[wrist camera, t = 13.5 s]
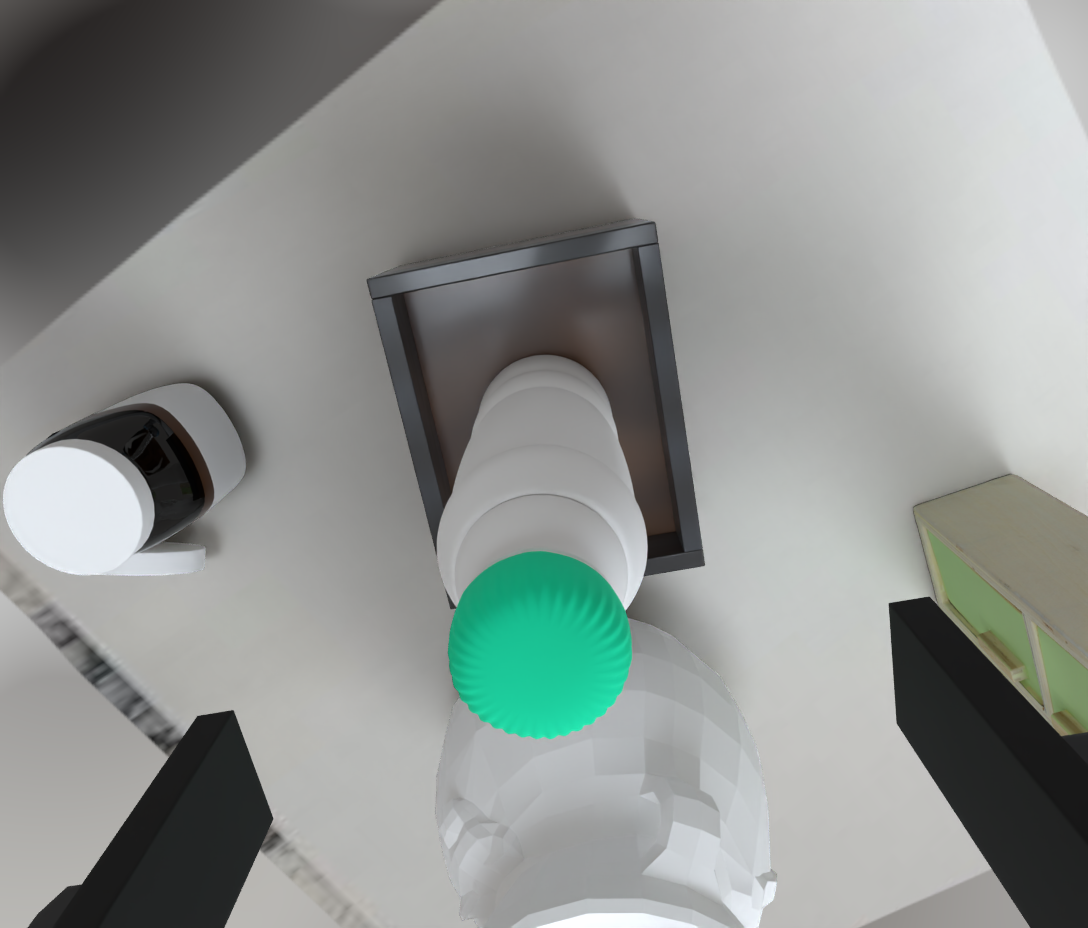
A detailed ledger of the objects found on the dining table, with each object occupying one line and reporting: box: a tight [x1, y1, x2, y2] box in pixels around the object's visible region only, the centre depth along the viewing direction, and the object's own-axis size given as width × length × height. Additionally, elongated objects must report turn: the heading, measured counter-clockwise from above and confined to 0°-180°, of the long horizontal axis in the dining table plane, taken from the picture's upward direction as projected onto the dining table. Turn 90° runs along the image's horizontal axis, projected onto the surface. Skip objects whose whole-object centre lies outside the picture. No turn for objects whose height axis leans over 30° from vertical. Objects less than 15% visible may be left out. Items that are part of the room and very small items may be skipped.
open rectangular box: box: [367, 218, 705, 609], centre depth 45 cm, size 18×14×9 cm
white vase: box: [435, 618, 777, 928], centre depth 44 cm, size 19×18×25 cm
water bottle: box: [437, 355, 648, 739], centre depth 32 cm, size 7×7×25 cm
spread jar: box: [3, 383, 246, 576], centre depth 46 cm, size 12×11×12 cm
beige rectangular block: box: [914, 475, 1088, 736], centre depth 42 cm, size 8×7×21 cm
